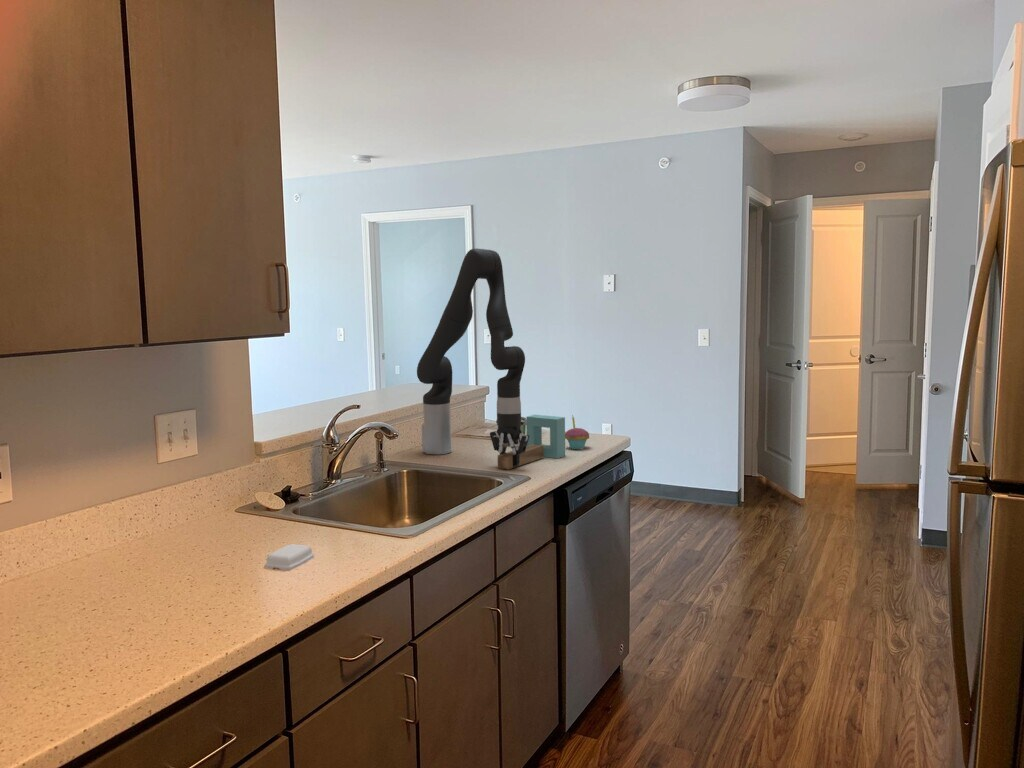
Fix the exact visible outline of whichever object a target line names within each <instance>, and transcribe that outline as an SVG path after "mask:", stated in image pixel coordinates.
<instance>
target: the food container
mask: <svg viewBox="0 0 1024 768" xmlns="http://www.w3.org/2000/svg"><path fill="white" fill-rule="evenodd" d="M495 423H496V424H497V419H496V420H495ZM520 429H521V432H522V433H523V434H525V435H526V432H527V421H526V416H525V417H524V416H521V427H520ZM499 440H500V437H499ZM520 441H521V440H520V438H519V443H520ZM514 444H515V443H514ZM507 447H510V444H509V443H508V445H507Z"/></svg>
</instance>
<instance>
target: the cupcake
mask: <svg viewBox="0 0 1024 768" xmlns="http://www.w3.org/2000/svg"><path fill="white" fill-rule="evenodd" d="M571 419H572V426H573V427H572V428H570V429H568V430H566V431H565V440H567V442H568V444H569V448H570V449H571V448H572V449H571V450H575V449H579V450H583V448H585V446H586V443H587V440H588V439H590V433H589V431H588V430H586V429H584V428H581V427H576V424H575V417H574V415H573V414H572V417H571Z"/></svg>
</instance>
